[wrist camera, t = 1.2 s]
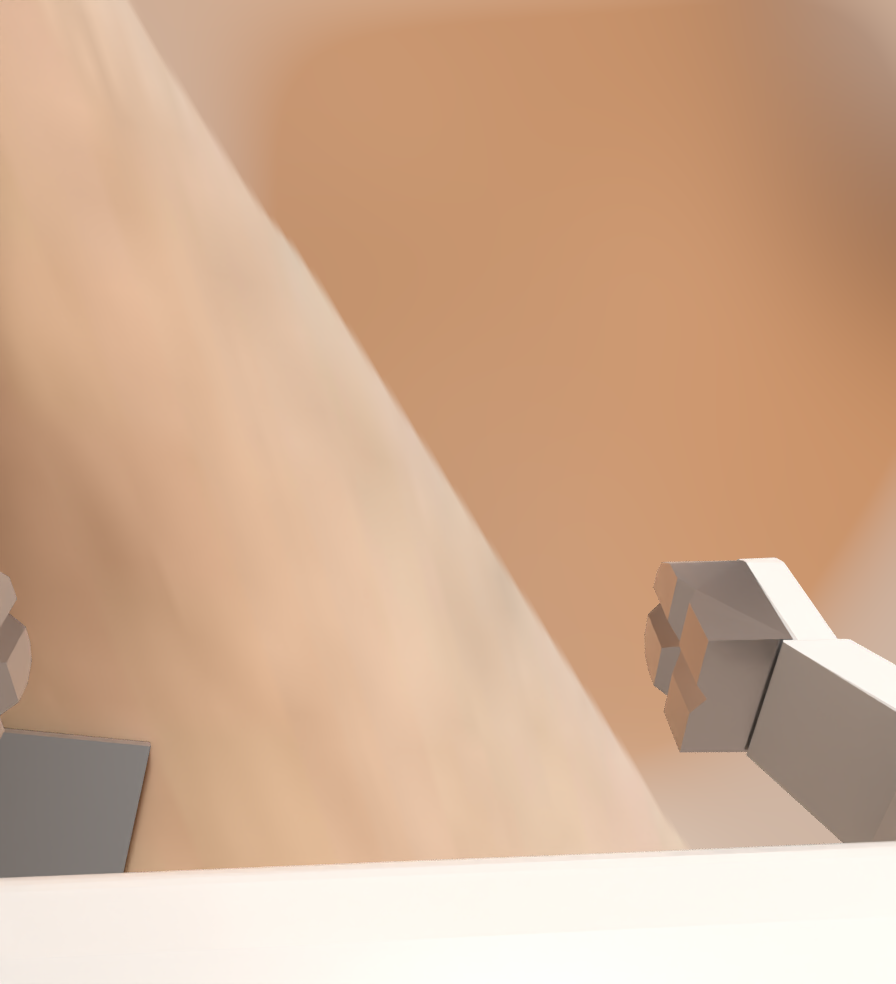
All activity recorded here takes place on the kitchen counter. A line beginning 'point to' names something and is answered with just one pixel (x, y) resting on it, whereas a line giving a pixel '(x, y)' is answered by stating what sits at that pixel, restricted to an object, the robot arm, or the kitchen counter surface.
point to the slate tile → (67, 802)
